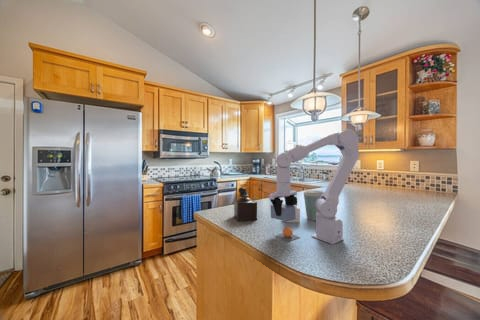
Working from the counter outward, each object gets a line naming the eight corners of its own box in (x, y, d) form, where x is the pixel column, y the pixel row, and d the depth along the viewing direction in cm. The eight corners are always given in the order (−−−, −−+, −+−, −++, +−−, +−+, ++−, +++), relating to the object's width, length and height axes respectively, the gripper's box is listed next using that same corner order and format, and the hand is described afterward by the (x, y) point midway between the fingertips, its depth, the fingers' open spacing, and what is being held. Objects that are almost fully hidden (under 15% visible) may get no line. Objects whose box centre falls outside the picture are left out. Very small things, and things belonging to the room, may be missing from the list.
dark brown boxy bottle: (232, 215, 112) (232, 183, 112) (251, 214, 115) (251, 183, 115) (239, 225, 97) (239, 188, 97) (260, 223, 100) (260, 187, 100)
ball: (292, 225, 83) (286, 227, 86) (286, 227, 81) (279, 228, 84) (296, 235, 82) (289, 236, 85) (289, 237, 79) (282, 238, 82)
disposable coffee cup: (300, 219, 106) (300, 190, 106) (306, 214, 115) (306, 188, 114) (321, 223, 100) (321, 193, 99) (326, 217, 108) (326, 190, 108)
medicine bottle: (299, 222, 101) (300, 198, 100) (285, 222, 101) (285, 198, 101) (296, 218, 108) (296, 195, 108) (282, 218, 108) (282, 195, 108)
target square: (299, 237, 82) (299, 237, 82) (288, 241, 78) (288, 241, 78) (286, 232, 88) (286, 231, 88) (275, 236, 84) (275, 235, 84)
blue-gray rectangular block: (295, 219, 83) (295, 206, 83) (286, 221, 80) (285, 208, 80) (280, 215, 90) (280, 203, 90) (271, 217, 87) (270, 205, 87)
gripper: (288, 179, 92) (288, 209, 92) (264, 182, 84) (264, 215, 84) (300, 181, 86) (300, 213, 86) (276, 184, 78) (276, 219, 78)
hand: (283, 214), depth 85 cm, fingers closed on blue-gray rectangular block, 6 cm apart
